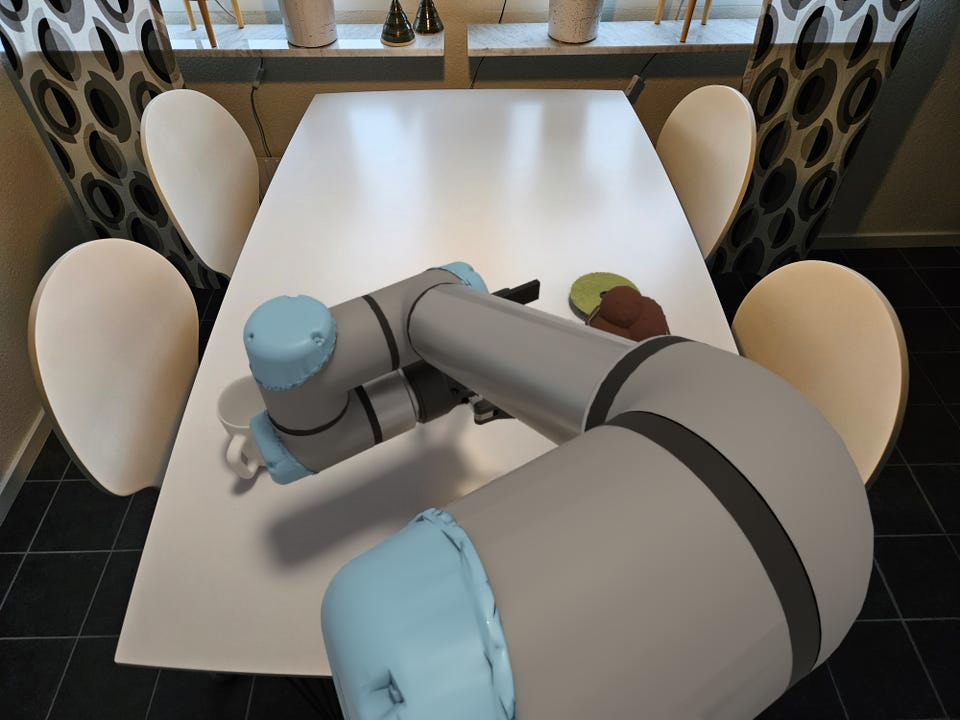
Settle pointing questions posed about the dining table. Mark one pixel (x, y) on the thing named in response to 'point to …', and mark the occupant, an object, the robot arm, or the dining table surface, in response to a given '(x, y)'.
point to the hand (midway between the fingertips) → (570, 322)
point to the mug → (241, 423)
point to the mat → (595, 289)
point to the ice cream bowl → (628, 315)
